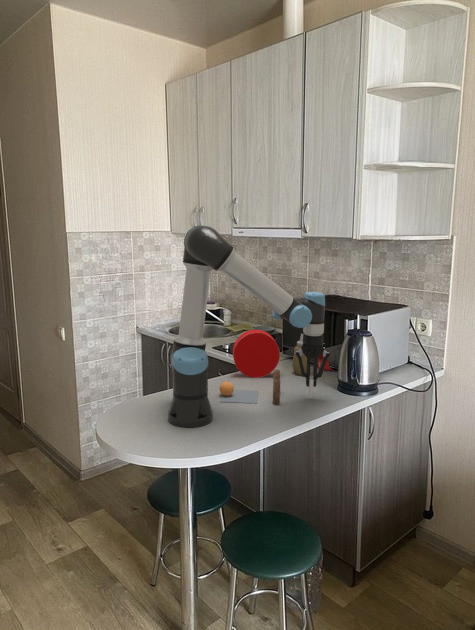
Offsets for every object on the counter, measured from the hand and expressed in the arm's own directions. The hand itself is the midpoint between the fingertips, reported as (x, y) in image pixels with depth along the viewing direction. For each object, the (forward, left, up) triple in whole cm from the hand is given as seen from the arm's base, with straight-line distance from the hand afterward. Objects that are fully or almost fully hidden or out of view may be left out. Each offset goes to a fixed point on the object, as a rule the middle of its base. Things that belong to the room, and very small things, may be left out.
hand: (310, 394), depth 189 cm
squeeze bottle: (-2, +33, -2) cm, 33 cm away
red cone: (+10, +42, -2) cm, 43 cm away
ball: (-32, 0, +1) cm, 32 cm away
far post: (-13, +6, -2) cm, 15 cm away
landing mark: (-27, 0, -2) cm, 27 cm away
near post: (-13, -6, -2) cm, 15 cm away
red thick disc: (-22, +27, -2) cm, 35 cm away
